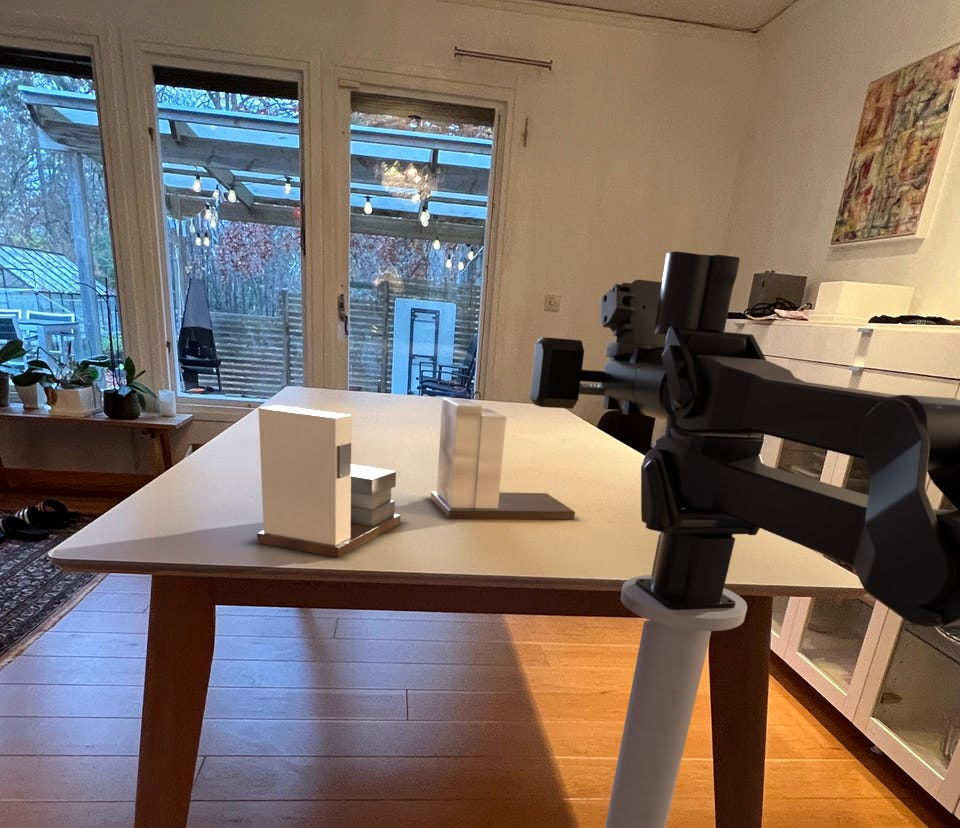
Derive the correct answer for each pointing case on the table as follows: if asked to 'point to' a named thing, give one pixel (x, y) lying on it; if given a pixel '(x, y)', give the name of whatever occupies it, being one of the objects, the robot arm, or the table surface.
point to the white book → (306, 473)
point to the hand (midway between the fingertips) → (587, 371)
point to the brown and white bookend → (481, 469)
